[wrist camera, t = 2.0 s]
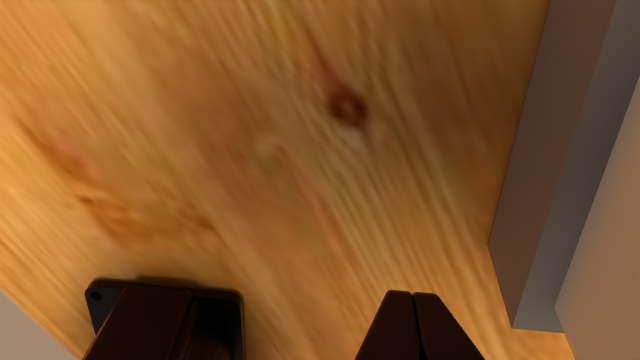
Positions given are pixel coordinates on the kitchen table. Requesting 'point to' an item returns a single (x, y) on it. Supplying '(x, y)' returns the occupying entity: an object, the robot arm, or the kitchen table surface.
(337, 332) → the kitchen table surface
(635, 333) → the carton
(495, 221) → the stand
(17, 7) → the kitchen table surface
